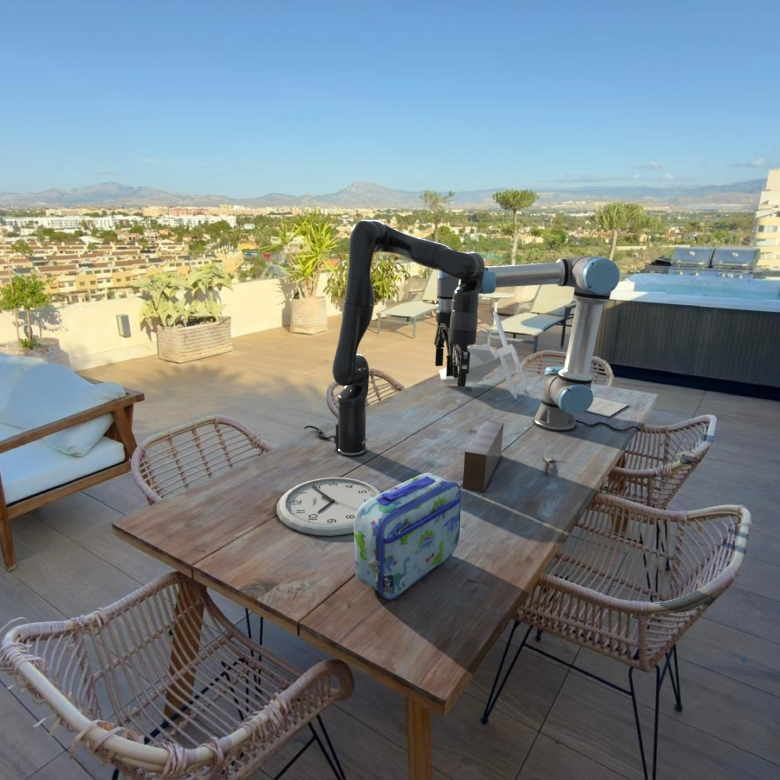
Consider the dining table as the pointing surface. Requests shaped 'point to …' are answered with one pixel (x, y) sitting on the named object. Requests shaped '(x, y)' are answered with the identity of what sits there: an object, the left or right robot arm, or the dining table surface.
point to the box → (482, 456)
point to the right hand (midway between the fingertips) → (444, 370)
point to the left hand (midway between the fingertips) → (458, 381)
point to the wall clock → (324, 505)
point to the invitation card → (605, 407)
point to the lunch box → (406, 533)
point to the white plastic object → (490, 362)
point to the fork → (548, 460)
